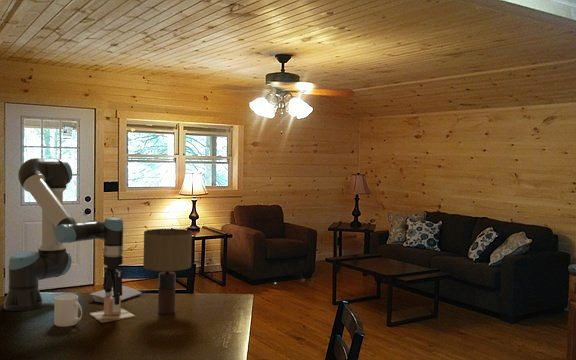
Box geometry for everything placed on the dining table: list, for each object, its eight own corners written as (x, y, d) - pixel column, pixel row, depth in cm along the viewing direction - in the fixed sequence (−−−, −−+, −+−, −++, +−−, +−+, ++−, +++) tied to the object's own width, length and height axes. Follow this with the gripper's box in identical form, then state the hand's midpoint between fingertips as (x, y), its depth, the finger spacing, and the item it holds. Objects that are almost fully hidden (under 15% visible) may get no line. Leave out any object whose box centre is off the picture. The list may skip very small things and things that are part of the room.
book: (84, 302, 246) (84, 294, 246) (118, 292, 267) (118, 284, 267) (110, 307, 240) (111, 298, 240) (143, 295, 262) (143, 287, 261)
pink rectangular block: (103, 312, 226) (104, 296, 226) (115, 310, 229) (116, 295, 229) (108, 315, 222) (108, 299, 222) (120, 313, 225) (121, 297, 225)
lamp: (132, 314, 227) (134, 232, 226) (160, 303, 246) (162, 227, 245) (172, 321, 220) (174, 236, 219) (198, 309, 239) (200, 230, 237)
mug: (73, 329, 206) (74, 301, 206) (49, 325, 210) (49, 298, 210) (89, 323, 214) (89, 296, 214) (65, 319, 218) (66, 293, 218)
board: (89, 314, 226) (89, 313, 226) (121, 309, 235) (121, 307, 235) (101, 322, 215) (101, 321, 215) (135, 317, 224) (135, 315, 224)
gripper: (95, 252, 230) (94, 305, 230) (113, 259, 214) (112, 317, 215) (112, 250, 235) (111, 303, 235) (131, 258, 219) (130, 314, 220)
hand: (112, 309), depth 225 cm, fingers open, 7 cm apart
